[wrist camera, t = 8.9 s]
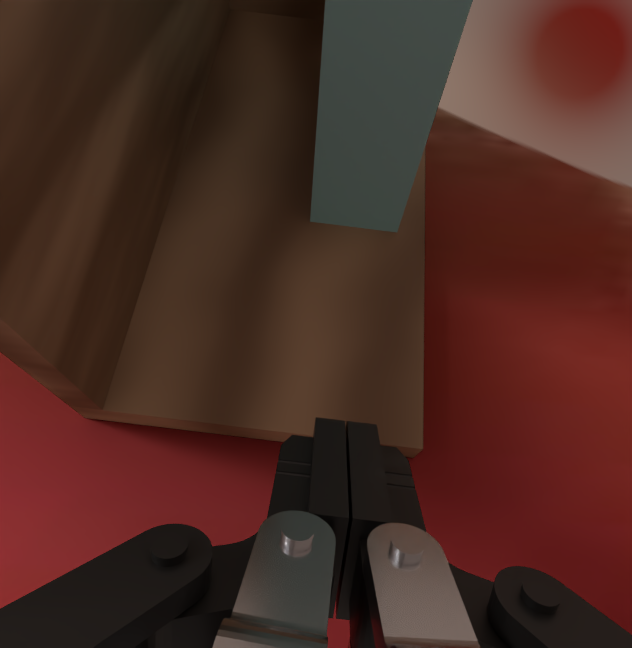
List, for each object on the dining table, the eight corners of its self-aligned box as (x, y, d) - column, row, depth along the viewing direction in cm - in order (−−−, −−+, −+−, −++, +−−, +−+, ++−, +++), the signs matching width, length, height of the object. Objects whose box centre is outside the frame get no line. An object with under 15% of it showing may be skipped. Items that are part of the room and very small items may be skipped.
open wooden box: (84, 417, 19) (-320, 101, 6) (216, 20, 31) (168, -371, 18) (413, 457, 19) (671, 221, 6) (420, 44, 31) (515, -329, 18)
